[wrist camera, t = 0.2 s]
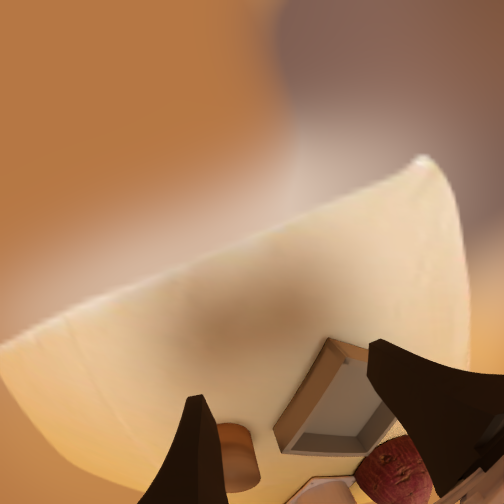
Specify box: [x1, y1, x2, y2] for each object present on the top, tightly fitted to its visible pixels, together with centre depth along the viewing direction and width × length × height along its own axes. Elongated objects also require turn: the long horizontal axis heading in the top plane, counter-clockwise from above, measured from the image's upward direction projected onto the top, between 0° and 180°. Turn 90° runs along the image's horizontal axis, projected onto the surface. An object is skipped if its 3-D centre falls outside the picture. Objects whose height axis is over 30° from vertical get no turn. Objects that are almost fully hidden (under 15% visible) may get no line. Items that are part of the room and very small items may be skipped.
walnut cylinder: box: [217, 423, 261, 493], centre depth 20 cm, size 5×5×6 cm
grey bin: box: [273, 338, 397, 457], centre depth 22 cm, size 11×11×4 cm
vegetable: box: [354, 435, 433, 504], centre depth 21 cm, size 10×10×15 cm
